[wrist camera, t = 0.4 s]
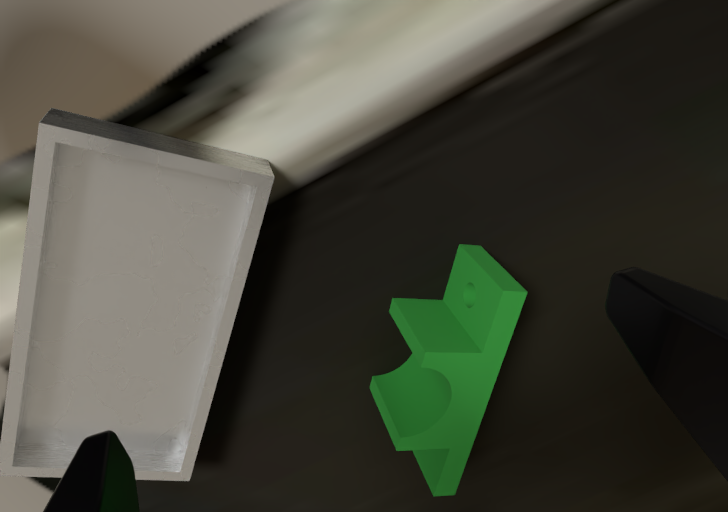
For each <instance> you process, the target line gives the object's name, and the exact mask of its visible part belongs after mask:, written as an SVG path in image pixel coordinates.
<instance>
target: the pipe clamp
mask: <svg viewBox="0 0 728 512" xmlns="http://www.w3.org/2000/svg"><path fill="white" fill-rule="evenodd" d="M527 293H528V292H527V291H526V290H525V289H524V288H523V287H522V286H521V285H520V284H519V283H518V282H517V281H516V280H515V279H514V278H513V277H512V276H511V275H510V274H509V273H508V272H507V271H506V270H505V269H504V268H503V267H502V266H501V265H500V264H499V263H498V262H497V261H495V260H494V259H493V258H492V257H491V256H490V255H489V254H488V253H487V252H486V251H485V250H484V249H483V248H482V247H481V246H476V245H463V244H459V247H458V250H457V254H456V257H455V261H454V264H453V267H452V271H451V274H450V278H449V281H448V284H447V288H446V291H445V295H444V298H443V300H426V299H403V298H392V302H391V306H390V310H389V312H390V314H391V316H392V318H393V319H394V321H395V323H396V325H397V326H398V328H399V330H400V332H401V333H402V335H403V337H404V339H405V340H406V342H407V344H408V346H409V347H410V349H411V351H412V355H411V356H410V358H409V359H408V360H407V361H406V362H405V363H404V364H403V365H402V366H400V367H399V368H397V369H396V370H394V371H392V372H390V373H387V374H384V375H379V376H373V377H372V381H371V385H370V390H371V392H372V395H373V397H374V399H375V402H376V404H377V406H378V409H379V411H380V413H381V416H382V418H383V420H384V423H385V425H386V427H387V430H388V432H389V434H390V437H391V439H392V441H393V444H394V446H395V448H396V451H407V450H412V451H413V453H414V455H415V457H416V459H417V462H418V464H419V466H420V468H421V470H422V472H423V475H424V477H425V479H426V481H427V483H428V485H429V488H430V490H431V492H432V494H433V496H447V495H455V493H456V490H457V487H458V484H459V482H460V479H461V476H462V473H463V470H464V468H465V465H466V462H467V459H468V457H469V454H470V451H471V448H472V445H473V443H474V440H475V437H476V434H477V432H478V429H479V426H480V423H481V420H482V418H483V415H484V412H485V409H486V407H487V404H488V401H489V398H490V395H491V393H492V390H493V387H494V384H495V382H496V379H497V376H498V373H499V370H500V368H501V365H502V362H503V359H504V356H505V354H506V351H507V348H508V345H509V343H510V340H511V337H512V334H513V331H514V329H515V326H516V323H517V320H518V318H519V315H520V312H521V309H522V306H523V304H524V301H525V298H526V295H527Z"/></svg>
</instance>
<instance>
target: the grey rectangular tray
mask: <svg viewBox="0 0 728 512" xmlns="http://www.w3.org/2000/svg"><path fill="white" fill-rule="evenodd" d="M274 178H275V177H274V174H273V172H272V170H271V167H270V165H269V162H268V160H265V159H261V158H257V157H253V156H248V155H244V154H240V153H236V152H232V151H228V150H224V149H219V148H215V147H211V146H207V145H203V144H199V143H195V142H190V141H186V140H182V139H178V138H174V137H170V136H166V135H162V134H157V133H153V132H149V131H145V130H141V129H137V128H133V127H128V126H124V125H120V124H116V123H112V122H108V121H104V120H99V119H95V118H91V117H87V116H83V115H79V114H74V113H70V112H66V111H62V110H58V109H54V108H51V109H50V110H49V111H48V113H47V114H46V115H45V116H44V117H43V119H42V120H41V121H40V122H39V129H38V137H37V145H36V153H35V161H34V169H33V178H32V186H31V194H30V203H29V211H28V219H27V228H26V236H25V244H24V252H23V261H22V269H21V277H20V286H19V294H18V302H17V310H16V319H15V327H14V335H13V344H12V352H11V360H10V368H9V377H8V385H7V393H6V402H5V410H4V418H3V426H2V435H1V443H0V476H28V477H63V475H64V473H65V471H66V469H67V468H68V466H69V464H70V462H71V460H72V459H73V457H74V455H75V453H76V451H77V450H78V448H79V446H80V444H81V443H82V441H83V440H84V439H85V438H86V437H88V436H91V435H94V434H97V433H100V432H104V431H107V430H112V431H113V432H115V433H116V435H117V436H118V438H119V440H120V441H121V443H122V445H123V447H124V448H125V450H126V452H127V453H128V455H129V457H130V458H131V461H132V463H133V467H134V472H135V479H136V480H172V481H190V477H191V474H192V470H193V467H194V463H195V460H196V456H197V453H198V449H199V445H200V442H201V438H202V435H203V431H204V428H205V424H206V420H207V417H208V413H209V410H210V406H211V403H212V399H213V395H214V392H215V388H216V385H217V381H218V378H219V374H220V370H221V367H222V363H223V360H224V356H225V353H226V349H227V345H228V342H229V338H230V335H231V331H232V328H233V324H234V320H235V317H236V313H237V310H238V306H239V303H240V299H241V295H242V292H243V288H244V285H245V281H246V278H247V274H248V270H249V267H250V263H251V260H252V256H253V253H254V249H255V245H256V242H257V238H258V235H259V231H260V228H261V224H262V220H263V217H264V213H265V210H266V206H267V203H268V199H269V195H270V192H271V188H272V185H273V181H274Z"/></svg>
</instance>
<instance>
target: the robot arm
mask: <svg viewBox="0 0 728 512" xmlns="http://www.w3.org/2000/svg"><path fill="white" fill-rule="evenodd" d="M605 308H606V313H607V315H608V317H609V319H610V321H611V322H612V324H613V325H614V327H615V329H616V330H617V332H618V333H619V335H620V336H621V338H622V340H623V341H624V343H625V344H626V346H627V348H628V349H629V351H630V352H631V354H632V355H633V357H634V359H635V360H636V362H637V363H638V365H639V366H640V368H641V370H642V371H643V373H644V374H645V376H646V377H647V379H648V380H649V381H650V383H651V384H652V386H653V387H654V388H655V390H656V391H657V392H658V394H659V395H660V396H661V398H662V399H663V400H664V401H665V403H666V404H667V405H668V406H669V408H670V409H671V410H672V411H673V413H674V414H675V415H676V417H677V418H678V419H679V420H680V422H681V423H682V424H683V425H684V427H685V428H686V429H687V430H688V432H689V433H690V434H691V436H692V437H693V438H694V439H695V441H696V442H697V443H698V444H699V446H700V447H701V448H702V449H703V451H704V452H705V453H706V455H707V456H708V457H709V458H710V460H711V461H712V462H713V463H714V465H715V466H716V467H717V468H718V470H719V471H720V472H721V474H722V475H723V476H724V477H725V479H726V480H727V481H728V301H727V300H724V299H721V298H718V297H716V296H713V295H710V294H708V293H705V292H702V291H699V290H697V289H694V288H691V287H689V286H686V285H683V284H680V283H678V282H675V281H672V280H670V279H667V278H664V277H661V276H659V275H656V274H653V273H651V272H648V271H645V270H643V269H640V268H636V267H631V268H627V269H624V270H621V271H618V272H615V273H614V274H613V275H612V277H611V280H610V285H609V289H608V294H607V299H606V304H605ZM43 512H139V504H138V496H137V487H136V479H135V472H134V467H133V463H132V461H131V458H130V457H129V455H128V453H127V452H126V450H125V448H124V447H123V445H122V443H121V441H120V440H119V438H118V436H117V435H116V433H115V432H113V431H112V430H107V431H104V432H100V433H97V434H94V435H91V436H88V437H86V438H85V439H84V440H83V441H82V443H81V444H80V446H79V448H78V450H77V451H76V453H75V455H74V457H73V459H72V460H71V462H70V464H69V466H68V468H67V469H66V471H65V473H64V475H63V477H62V478H61V480H60V482H59V484H58V486H57V487H56V489H55V491H54V493H53V495H52V496H51V498H50V500H49V502H48V504H47V506H46V507H45V509H44V511H43Z"/></svg>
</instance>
